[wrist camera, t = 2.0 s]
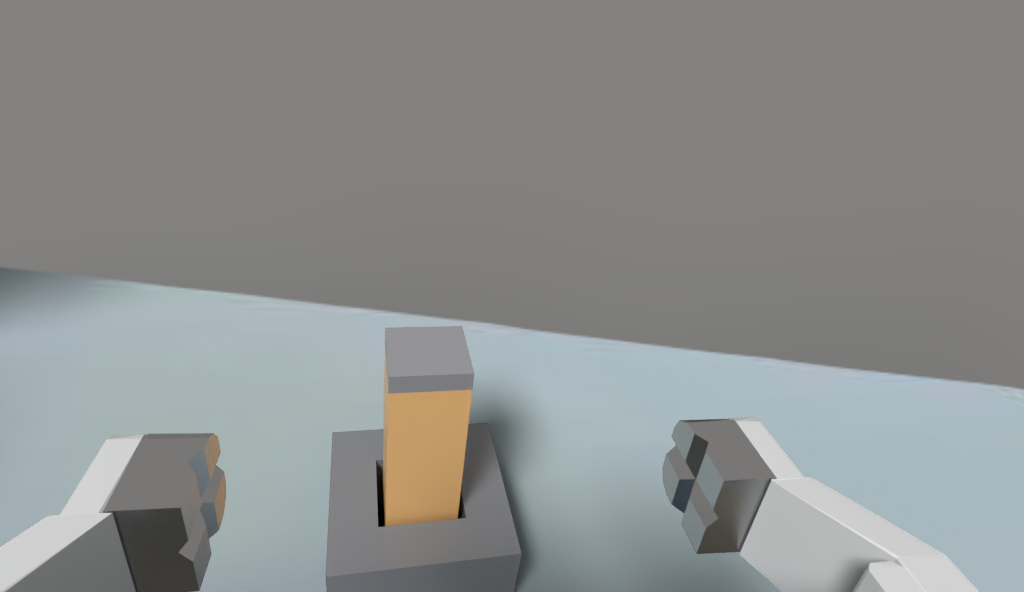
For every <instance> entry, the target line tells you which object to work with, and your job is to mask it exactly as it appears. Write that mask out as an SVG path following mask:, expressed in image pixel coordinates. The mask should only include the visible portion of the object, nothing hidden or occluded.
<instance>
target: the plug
mask: <svg viewBox="0 0 1024 592" xmlns="http://www.w3.org/2000/svg"><path fill="white" fill-rule="evenodd" d="M473 380H474V371H473V367H472V363H471V359H470V355H469V351H468V348H467V344H466V340H465V336H464V332H463V328H462V326H450V327H402V328H385V377H384V433H383V489H382V518H383V527H384V526H393V525H403V524H413V523H423V522H433V521H443V520H453V519H458V510H459V501H460V493H461V484H462V475H463V467H464V458H465V449H466V441H467V432H468V423H469V414H470V406H471V397H472V388H473Z"/></svg>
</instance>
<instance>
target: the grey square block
mask: <svg viewBox="0 0 1024 592" xmlns="http://www.w3.org/2000/svg"><path fill="white" fill-rule="evenodd" d="M383 433H384V429H380V430H364V431H348V432H333V434H332V455H331V476H330V498H329V519H328V540H327V562H326V589H327V592H514V589H515V584H516V579H517V574H518V569H519V565H520V560H521V555H522V553H521V549H520V545H519V541H518V537H517V533H516V530H515V526H514V522H513V518H512V514H511V510H510V506H509V503H508V499H507V495H506V491H505V487H504V483H503V479H502V476H501V472H500V468H499V464H498V460H497V456H496V453H495V449H494V445H493V441H492V437H491V433H490V429H489V426H488V423H477V424H468V432H467V441H466V449H465V458H464V467H463V475H462V484H461V493H460V501H459V510H458V519H453V520H443V521H433V522H423V523H413V524H403V525H393V526H384V527H378V505H379V504H382V489H383Z"/></svg>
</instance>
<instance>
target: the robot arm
mask: <svg viewBox="0 0 1024 592" xmlns="http://www.w3.org/2000/svg"><path fill="white" fill-rule="evenodd" d="M672 438H673V440H674V442H675V444H676V446H675V447H674V448H673V449H672V450H670V451H669V452H668V453H667V454H666V457H665V461H664V465H663V483H664V487H665V491H666V494H667V496H668V498H669V500H670V502H671V504H672V505H673V506H675V507H676V508H677V509H679V510H680V511H681V512H683V513H684V515H683V519H682V523H681V524H682V526H683V528H684V530H685V532H686V534H687V536H688V538H689V540H690V542H691V544H692V546H693V548H694V550H695V552H696V554H705V553H727V552H740V555H741V556H742V557H743V558H744V559H745V560H746V561H748V562H749V563H750V564H751V565H752V566H753V567H754V568H756V569H757V570H758V571H759V572H760V573H761V574H762V575H764V576H765V577H766V578H767V579H768V580H769V581H770V582H772V583H773V584H774V585H775V586H776V587H777V588H778V589H779V590H781V591H782V592H979V591H978V590H977V589H976V588H975V587H974V586H973V584H972V583H971V582H970V581H969V580H968V579H967V578H966V577H965V576H964V575H963V574H962V572H961V571H960V570H959V569H958V568H957V567H956V566H955V565H954V564H953V563H952V562H951V560H950V559H949V558H948V557H947V556H946V555H945V554H943V553H941V552H939V551H938V550H936V549H934V548H933V547H931V546H929V545H927V544H926V543H924V542H922V541H920V540H919V539H917V538H915V537H914V536H912V535H910V534H908V533H907V532H905V531H903V530H902V529H900V528H898V527H896V526H895V525H893V524H891V523H889V522H888V521H886V520H884V519H883V518H881V517H879V516H877V515H876V514H874V513H872V512H870V511H869V510H867V509H865V508H864V507H862V506H860V505H858V504H857V503H855V502H853V501H851V500H850V499H848V498H846V497H845V496H843V495H841V494H839V493H838V492H836V491H834V490H833V489H831V488H829V487H827V486H826V485H824V484H822V483H820V482H819V481H817V480H815V479H814V478H804V477H803V475H802V474H801V473H800V471H799V470H798V469H797V468H796V466H795V465H794V464H793V463H792V461H791V460H790V459H789V458H788V456H787V455H786V454H785V452H784V451H783V450H782V449H781V447H780V446H779V445H778V444H777V442H776V441H775V440H774V438H773V437H772V436H771V435H770V433H769V432H768V431H767V430H766V428H765V427H764V426H763V425H762V423H761V422H760V421H759V420H757V419H755V418H754V417H744V418H728V419H705V420H680V421H679V422H678V423H677V424H676V426H675V428H674V431H673V434H672ZM220 452H221V451H220V446H219V441H218V436H216V435H215V434H213V433H203V434H148V435H113V436H111V437H110V438H108V439H107V440H106V441H105V442H104V443H103V445H102V447H101V448H100V450H99V451H98V453H97V455H96V456H95V458H94V460H93V461H92V463H91V464H90V466H89V468H88V469H87V471H86V472H85V474H84V476H83V477H82V479H81V481H80V482H79V484H78V485H77V487H76V489H75V490H74V492H73V493H72V495H71V497H70V498H69V500H68V502H67V503H66V505H65V506H64V508H63V510H62V511H61V513H60V515H54V516H47V517H45V518H44V519H42V520H41V521H39V522H38V523H36V524H35V525H33V526H32V527H30V528H29V529H27V530H26V531H24V532H22V533H21V534H19V535H18V536H16V537H15V538H13V539H12V540H10V541H9V542H7V543H6V544H4V545H2V546H1V547H0V592H195V591H199V590H200V587H201V584H202V581H203V578H204V575H205V572H206V569H207V566H208V563H209V560H210V557H211V549H210V543H209V538H210V537H211V536H213V535H214V534H215V533H216V532H217V531H218V530H219V528H220V525H221V521H222V518H223V514H224V507H225V500H226V481H225V475H224V471H222V470H221V469H220V468H219V467H218V466H216V464H217V461H218V458H219V455H220Z"/></svg>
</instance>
